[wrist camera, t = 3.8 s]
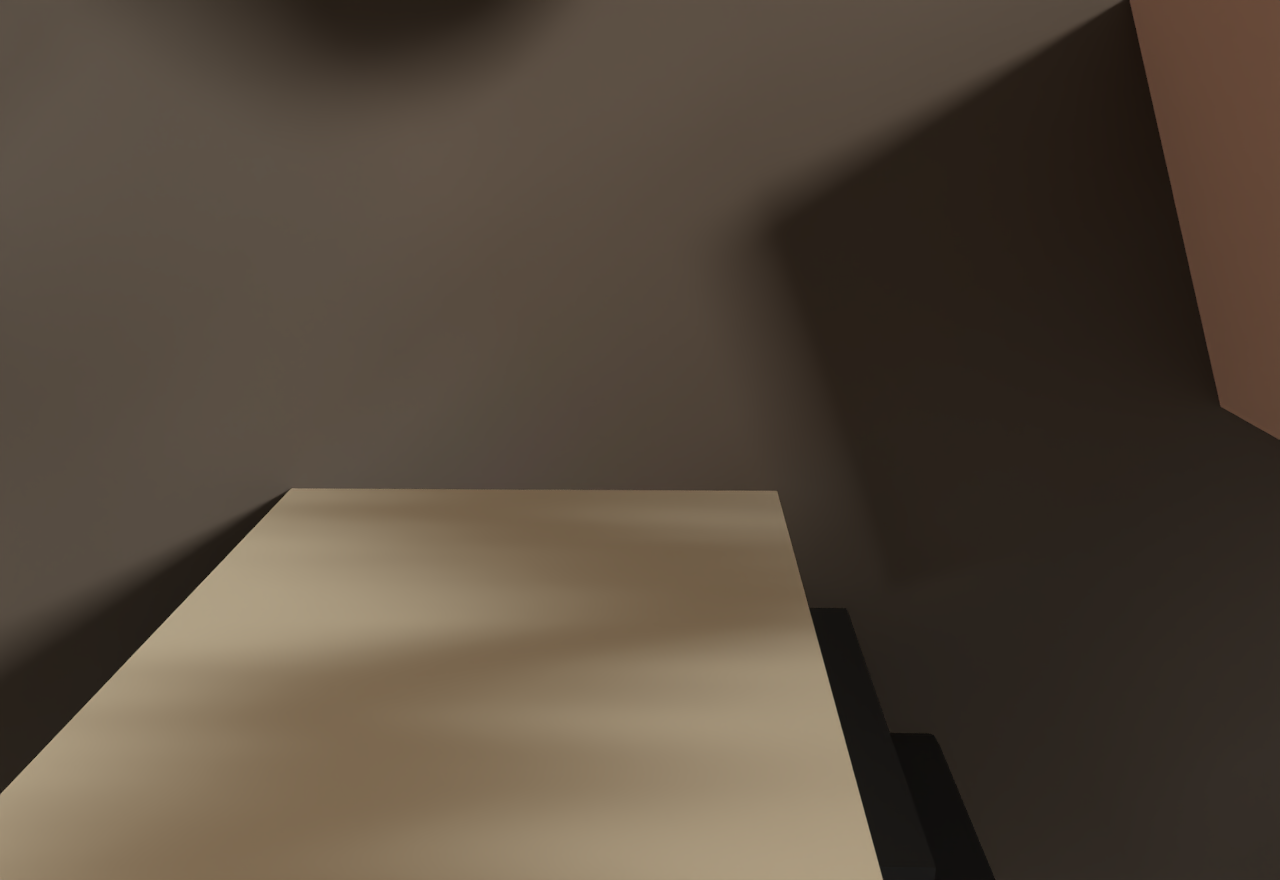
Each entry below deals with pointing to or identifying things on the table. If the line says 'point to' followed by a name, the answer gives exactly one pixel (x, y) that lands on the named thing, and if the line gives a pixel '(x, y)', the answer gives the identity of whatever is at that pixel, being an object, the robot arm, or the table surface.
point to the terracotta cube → (1225, 179)
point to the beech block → (465, 704)
